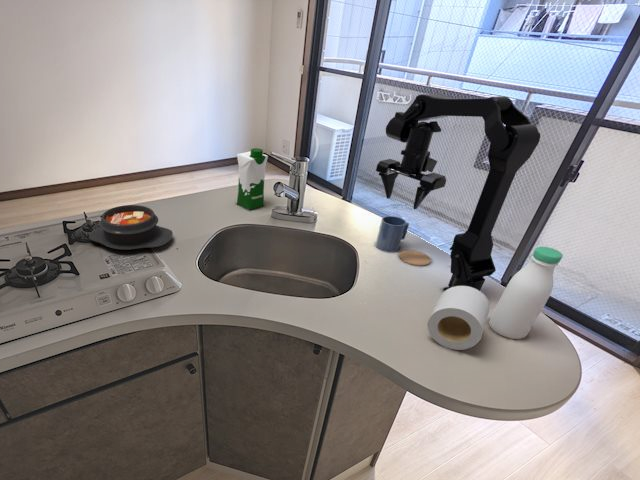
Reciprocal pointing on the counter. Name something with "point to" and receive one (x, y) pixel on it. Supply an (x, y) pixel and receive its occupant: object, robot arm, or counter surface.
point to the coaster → (414, 258)
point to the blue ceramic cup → (391, 233)
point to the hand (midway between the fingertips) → (401, 203)
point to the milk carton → (251, 178)
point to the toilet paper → (459, 317)
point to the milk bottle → (526, 295)
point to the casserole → (130, 229)
